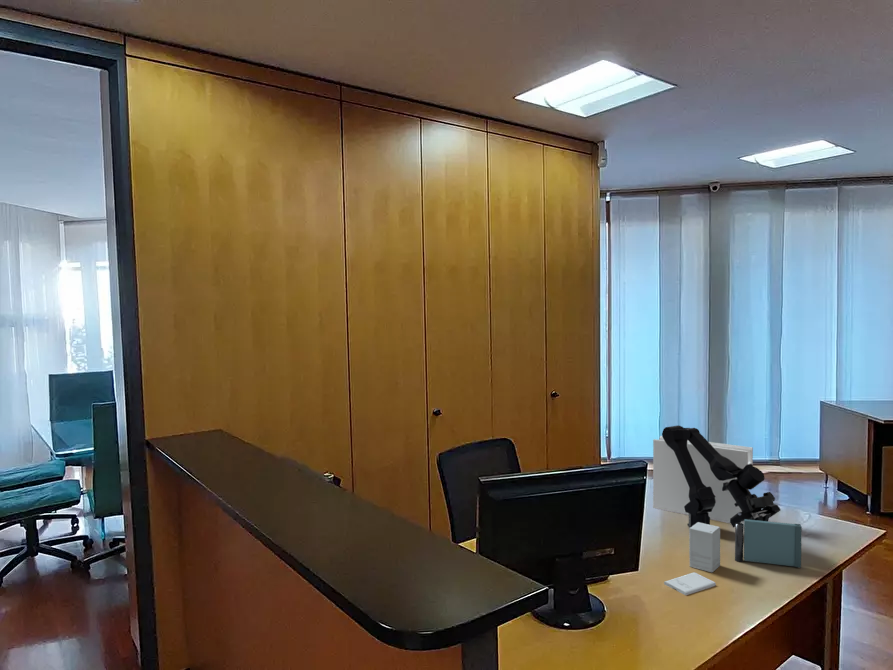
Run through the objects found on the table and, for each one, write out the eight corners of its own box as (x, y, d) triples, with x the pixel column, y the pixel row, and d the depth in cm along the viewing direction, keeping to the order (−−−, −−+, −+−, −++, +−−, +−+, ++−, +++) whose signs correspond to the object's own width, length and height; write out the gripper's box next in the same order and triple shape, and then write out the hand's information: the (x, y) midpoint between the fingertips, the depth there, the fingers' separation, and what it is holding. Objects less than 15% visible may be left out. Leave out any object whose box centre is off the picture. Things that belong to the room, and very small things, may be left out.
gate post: (736, 561, 204) (736, 525, 203) (733, 558, 206) (734, 522, 206) (744, 562, 204) (744, 525, 203) (741, 559, 206) (742, 522, 205)
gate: (744, 561, 203) (744, 521, 203) (743, 558, 206) (744, 518, 205) (800, 567, 198) (801, 526, 197) (799, 564, 200) (800, 524, 199)
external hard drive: (715, 587, 188) (685, 597, 182) (693, 576, 195) (663, 585, 190) (715, 582, 188) (685, 591, 182) (693, 571, 195) (663, 580, 190)
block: (653, 508, 256) (653, 439, 254) (660, 502, 263) (660, 435, 261) (746, 526, 234) (747, 451, 233) (751, 520, 241) (752, 447, 239)
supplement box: (720, 565, 202) (721, 526, 201) (712, 573, 196) (712, 533, 195) (697, 559, 207) (697, 521, 206) (688, 566, 201) (688, 527, 200)
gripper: (738, 488, 206) (768, 533, 197) (776, 480, 214) (806, 523, 205) (717, 505, 214) (745, 549, 205) (755, 496, 222) (783, 538, 213)
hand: (770, 539), depth 207 cm, fingers closed
